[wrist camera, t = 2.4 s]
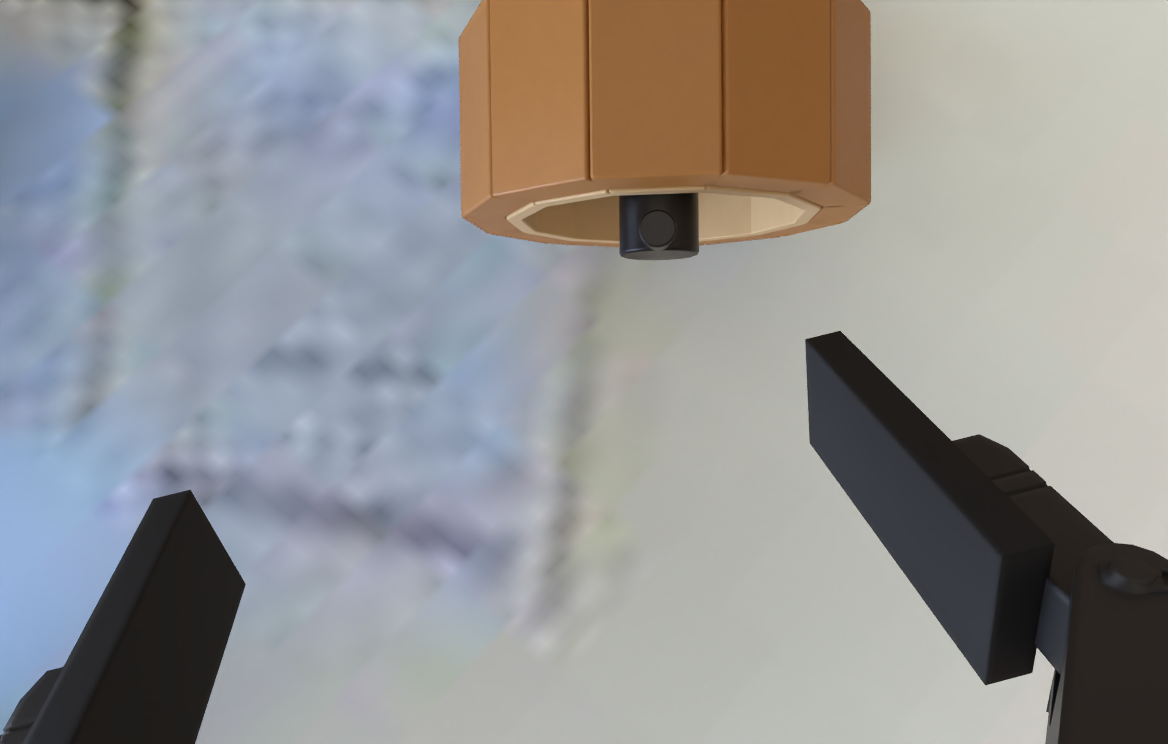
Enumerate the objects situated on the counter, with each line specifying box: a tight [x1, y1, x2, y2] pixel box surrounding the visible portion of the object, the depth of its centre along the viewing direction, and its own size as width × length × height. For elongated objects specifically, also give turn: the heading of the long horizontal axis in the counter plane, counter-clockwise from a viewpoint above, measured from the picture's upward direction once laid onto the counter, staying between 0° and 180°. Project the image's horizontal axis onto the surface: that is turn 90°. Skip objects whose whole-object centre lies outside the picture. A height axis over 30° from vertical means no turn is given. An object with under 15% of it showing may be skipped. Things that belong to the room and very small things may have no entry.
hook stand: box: [619, 193, 699, 260], centre depth 24 cm, size 9×13×21 cm
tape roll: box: [459, 0, 871, 247], centre depth 20 cm, size 10×5×10 cm, turn 91°
